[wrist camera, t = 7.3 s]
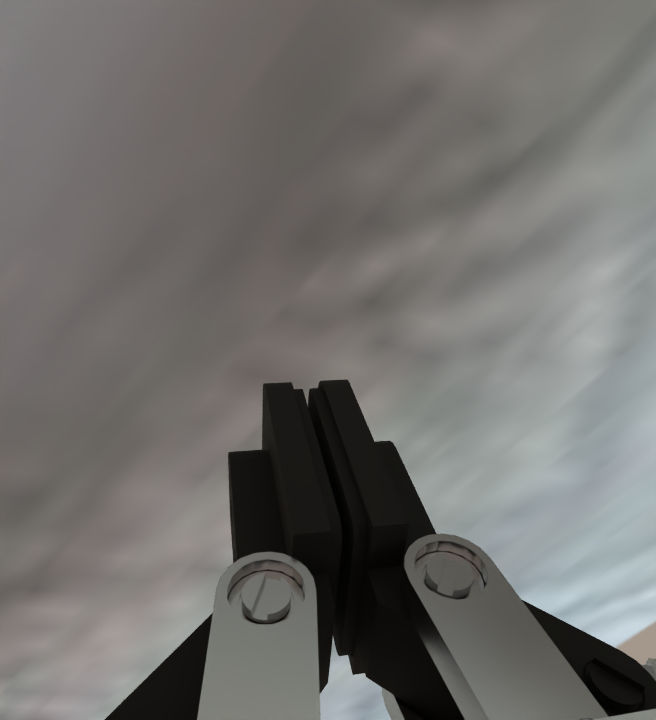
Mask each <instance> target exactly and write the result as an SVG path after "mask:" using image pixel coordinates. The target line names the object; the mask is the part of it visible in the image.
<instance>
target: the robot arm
mask: <svg viewBox="0 0 656 720" xmlns="http://www.w3.org/2000/svg"><path fill="white" fill-rule="evenodd" d="M228 466H229V498H230V519H231V534H232V549H233V564H232V565H230V566H229V567H228V568H227V570H226V571H225V572H224V573H223V575H222V576H221V577H220V580H219V583H218V586H217V589H216V595H215V602H214V609H213V613H212V614H211V615H210V616H209V617H208V618H207V619H206V620H205V621H204V622H203V623H202V624H201V625H200V626H199V627H198V628H197V629H196V630H195V631H194V632H193V633H192V634H191V635H190V636H189V637H188V638H187V639H186V640H185V641H184V642H183V643H182V644H181V645H180V646H179V647H178V648H177V649H176V650H175V651H174V652H173V653H172V654H171V655H170V656H169V657H168V658H167V659H166V660H165V661H164V662H163V663H162V664H161V665H160V666H159V667H158V668H157V669H155V670H154V671H153V672H152V673H151V674H150V675H149V676H148V677H147V678H146V679H145V680H144V681H143V682H142V683H141V684H140V685H139V686H138V687H137V688H136V689H135V690H134V691H133V692H132V693H131V694H130V695H129V696H128V697H127V698H126V699H125V700H124V701H123V702H122V703H121V704H120V705H119V706H118V707H117V708H116V709H115V710H114V711H113V712H112V713H111V714H110V715H109V716H108V717H107V718H106V719H105V720H320V693H321V692H322V690H323V689H324V687H325V686H326V685H327V683H328V676H329V667H330V657H331V647H332V637H334V642H335V646H336V650H337V653H338V655H339V656H343V655H348V656H349V660H350V665H351V669H352V673H353V675H354V674H361V673H365V674H366V677H367V678H369V679H370V680H372V681H373V682H375V683H376V684H378V685H379V686H381V687H382V696H383V699H384V703H385V706H386V709H387V711H388V713H389V715H390V718H391V720H656V659H651V658H649V659H648V660H647V662H646V664H645V665H640V664H639V663H638V662H637V661H636V660H634V659H633V658H631V657H630V656H628V655H626V654H625V653H623V652H622V651H620V650H618V649H616V648H614V647H612V646H610V645H608V644H607V643H605V642H603V641H601V640H599V639H597V638H595V637H593V636H591V635H589V634H587V633H585V632H583V631H581V630H579V629H577V628H576V627H574V626H572V625H570V624H568V623H566V622H564V621H562V620H560V619H558V618H556V617H554V616H552V615H550V614H548V613H546V612H545V611H543V610H541V609H539V608H537V607H535V606H533V605H531V604H529V603H527V602H525V601H523V600H521V598H520V597H519V596H518V594H517V593H516V592H515V590H514V589H513V588H512V586H511V585H510V584H509V582H508V581H507V580H506V578H505V577H504V576H503V574H502V573H501V572H500V570H499V569H498V568H497V566H496V565H495V564H494V562H493V561H492V560H491V558H490V557H489V556H488V555H487V554H486V553H485V552H484V551H483V550H482V549H481V548H480V547H478V546H477V545H475V544H473V543H472V542H470V541H469V540H466V539H463V538H461V537H458V536H455V535H448V534H436V532H435V530H434V528H433V526H432V524H431V521H430V519H429V517H428V515H427V513H426V511H425V509H424V507H423V504H422V502H421V500H420V498H419V496H418V494H417V492H416V490H415V487H414V485H413V483H412V481H411V479H410V477H409V475H408V473H407V470H406V468H405V466H404V464H403V462H402V460H401V458H400V456H399V453H398V451H397V449H396V447H395V446H394V444H393V443H392V442H391V441H380V442H374V440H373V437H372V435H371V433H370V430H369V428H368V426H367V423H366V421H365V419H364V416H363V414H362V411H361V409H360V407H359V404H358V402H357V400H356V397H355V395H354V393H353V390H352V388H351V386H350V383H349V381H348V380H329V381H320V382H319V385H318V388H312V389H310V390H309V399H308V406H307V403H306V399H305V396H304V392H303V390H302V389H293V385H292V383H291V382H287V383H267V384H263V421H262V450H252V451H238V452H229V453H228Z"/></svg>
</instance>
